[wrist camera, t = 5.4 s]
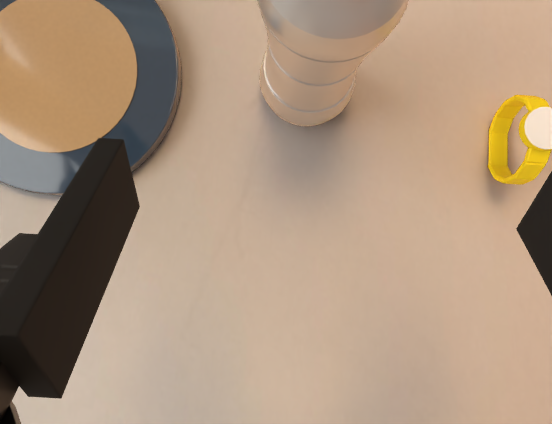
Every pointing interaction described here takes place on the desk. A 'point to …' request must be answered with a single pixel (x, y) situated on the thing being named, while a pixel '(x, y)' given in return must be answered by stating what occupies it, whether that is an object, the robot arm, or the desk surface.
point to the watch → (533, 132)
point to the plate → (81, 85)
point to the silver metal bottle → (319, 52)
